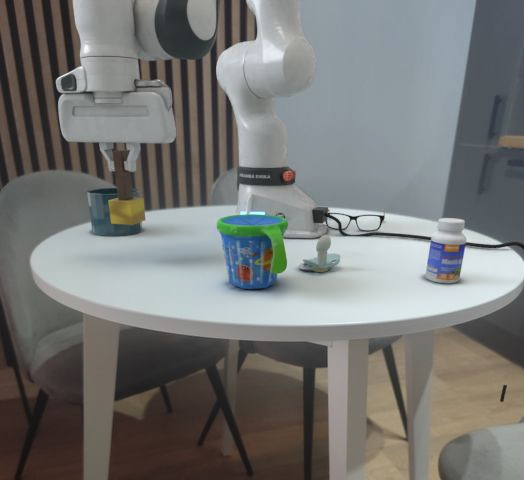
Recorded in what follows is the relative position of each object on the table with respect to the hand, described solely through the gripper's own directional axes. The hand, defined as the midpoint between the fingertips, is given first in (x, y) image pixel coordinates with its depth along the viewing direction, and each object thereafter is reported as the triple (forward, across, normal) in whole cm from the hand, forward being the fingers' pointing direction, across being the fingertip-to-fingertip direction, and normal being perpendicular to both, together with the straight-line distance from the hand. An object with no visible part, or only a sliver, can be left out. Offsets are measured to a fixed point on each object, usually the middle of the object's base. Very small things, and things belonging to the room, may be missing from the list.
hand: (122, 171), depth 86 cm
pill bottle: (+16, -55, -7) cm, 58 cm away
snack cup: (+16, -26, +6) cm, 31 cm away
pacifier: (+16, -34, -6) cm, 38 cm away
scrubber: (+9, 0, 0) cm, 9 cm away
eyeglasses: (+17, -34, -48) cm, 61 cm away
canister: (+16, +17, -22) cm, 32 cm away
